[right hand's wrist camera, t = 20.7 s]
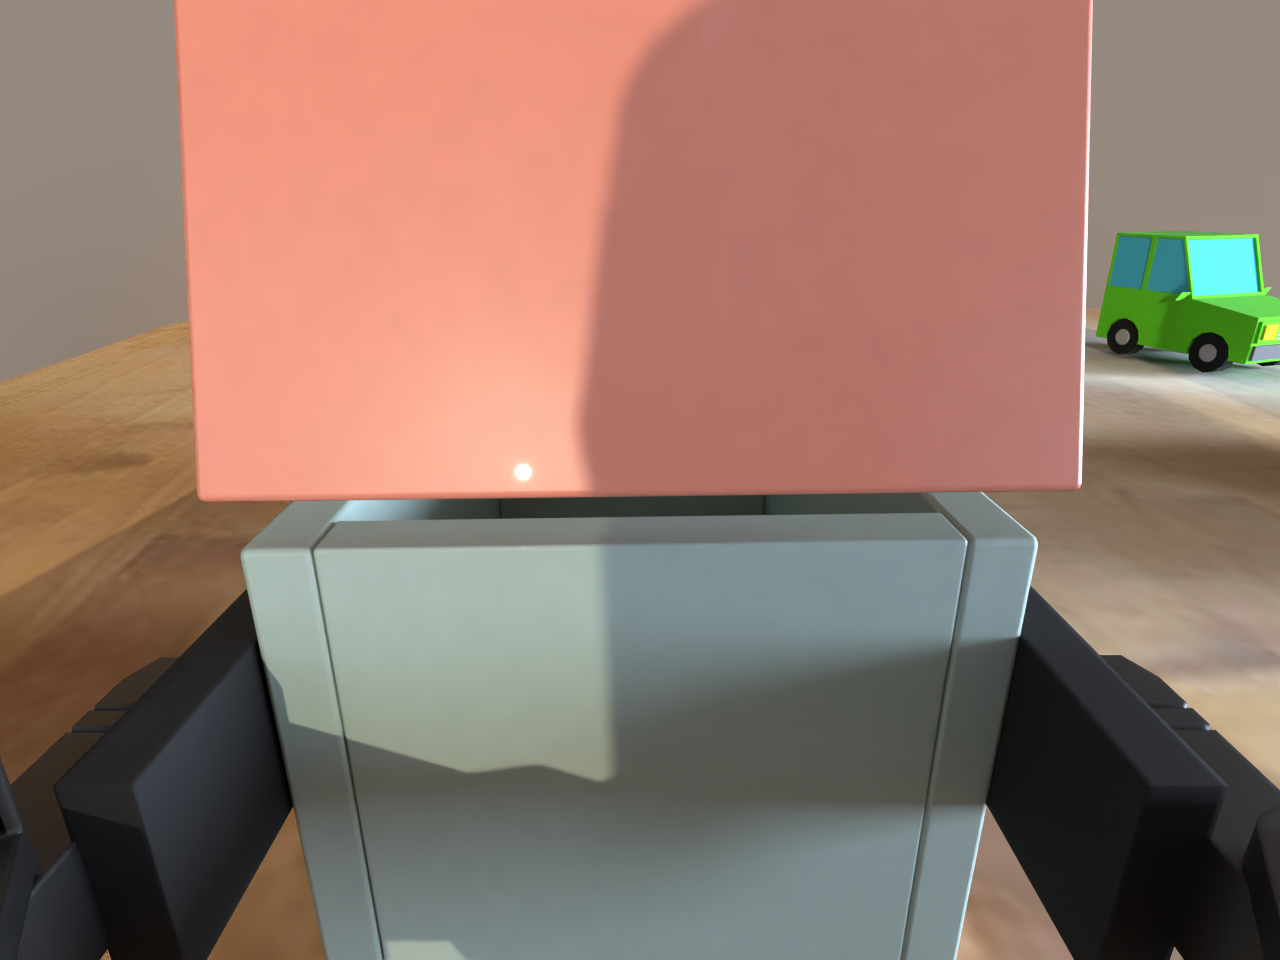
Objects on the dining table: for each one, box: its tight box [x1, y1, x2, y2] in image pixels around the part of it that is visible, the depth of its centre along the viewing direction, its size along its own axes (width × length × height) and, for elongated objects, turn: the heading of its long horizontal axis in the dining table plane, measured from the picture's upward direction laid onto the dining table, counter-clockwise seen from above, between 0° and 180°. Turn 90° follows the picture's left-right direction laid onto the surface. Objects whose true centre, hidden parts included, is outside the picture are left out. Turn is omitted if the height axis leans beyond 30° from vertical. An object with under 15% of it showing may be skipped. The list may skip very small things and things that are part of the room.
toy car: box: [1096, 231, 1280, 372], centre depth 63 cm, size 10×13×10 cm
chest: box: [240, 492, 1038, 960], centre depth 17 cm, size 13×10×10 cm
